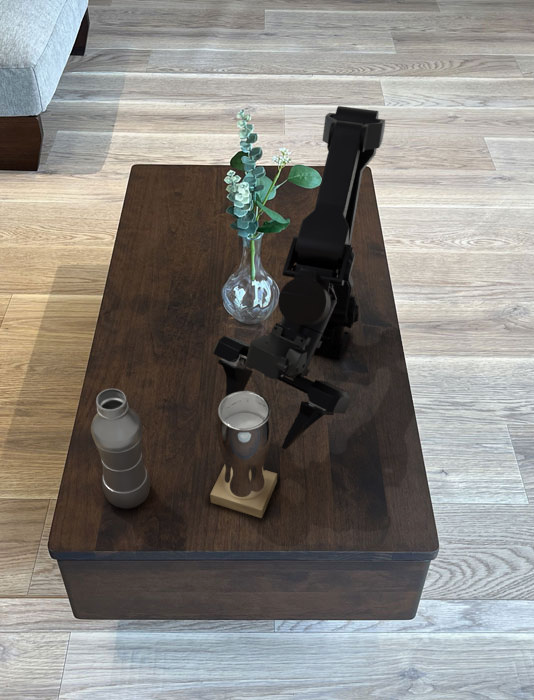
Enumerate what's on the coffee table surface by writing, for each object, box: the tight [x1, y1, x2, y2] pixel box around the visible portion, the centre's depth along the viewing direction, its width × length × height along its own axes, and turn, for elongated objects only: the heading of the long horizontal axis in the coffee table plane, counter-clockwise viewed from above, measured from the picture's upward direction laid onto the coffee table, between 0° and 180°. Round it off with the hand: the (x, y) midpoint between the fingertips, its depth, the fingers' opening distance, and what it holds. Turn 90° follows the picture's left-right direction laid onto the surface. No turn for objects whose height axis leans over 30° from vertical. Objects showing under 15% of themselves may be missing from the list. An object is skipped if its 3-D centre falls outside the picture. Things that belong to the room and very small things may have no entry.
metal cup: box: [216, 390, 272, 499], centre depth 105 cm, size 7×7×15 cm
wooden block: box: [209, 464, 278, 519], centre depth 111 cm, size 6×8×2 cm
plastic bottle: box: [90, 388, 152, 510], centre depth 104 cm, size 6×7×20 cm
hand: (255, 432), depth 106 cm, fingers open, 9 cm apart
